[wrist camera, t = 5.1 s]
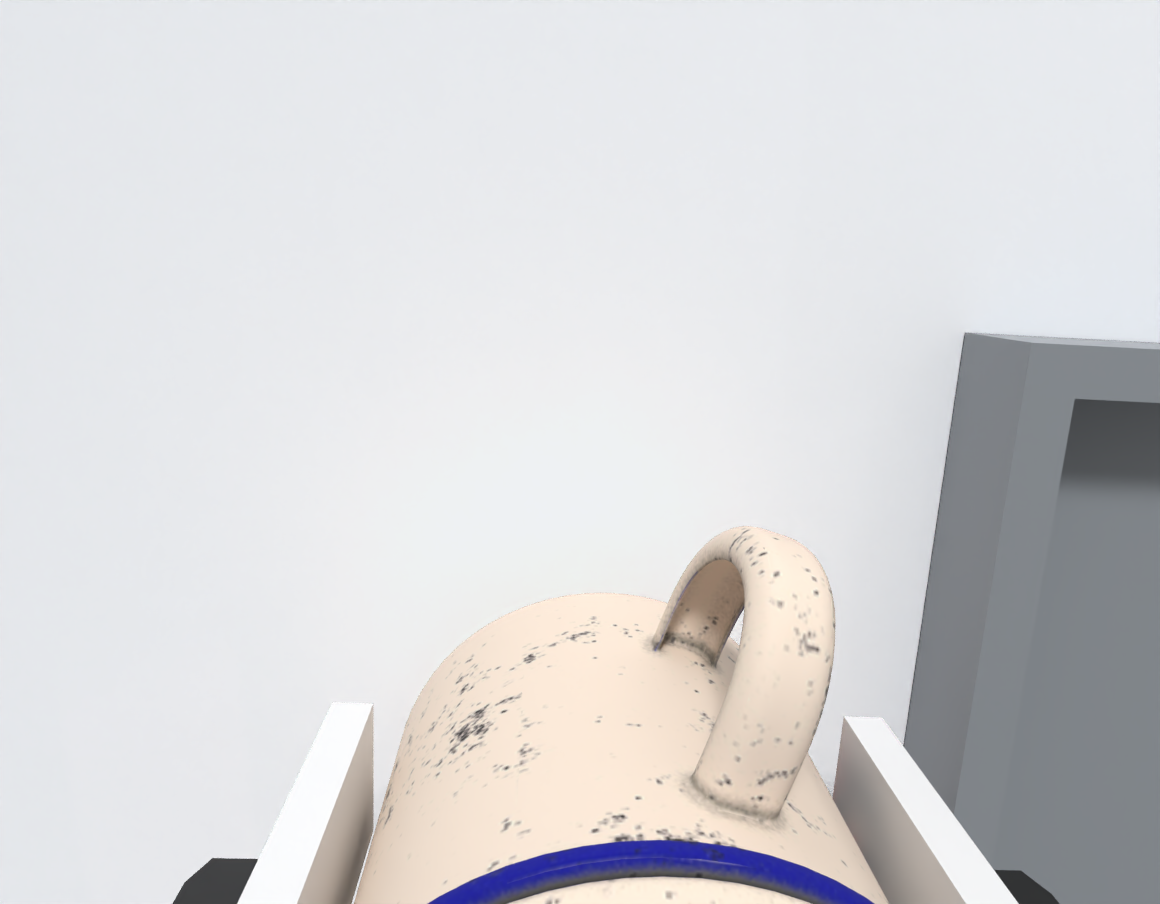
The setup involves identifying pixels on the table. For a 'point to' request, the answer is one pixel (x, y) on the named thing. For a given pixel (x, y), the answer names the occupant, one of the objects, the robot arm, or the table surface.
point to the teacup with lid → (629, 750)
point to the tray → (1049, 616)
